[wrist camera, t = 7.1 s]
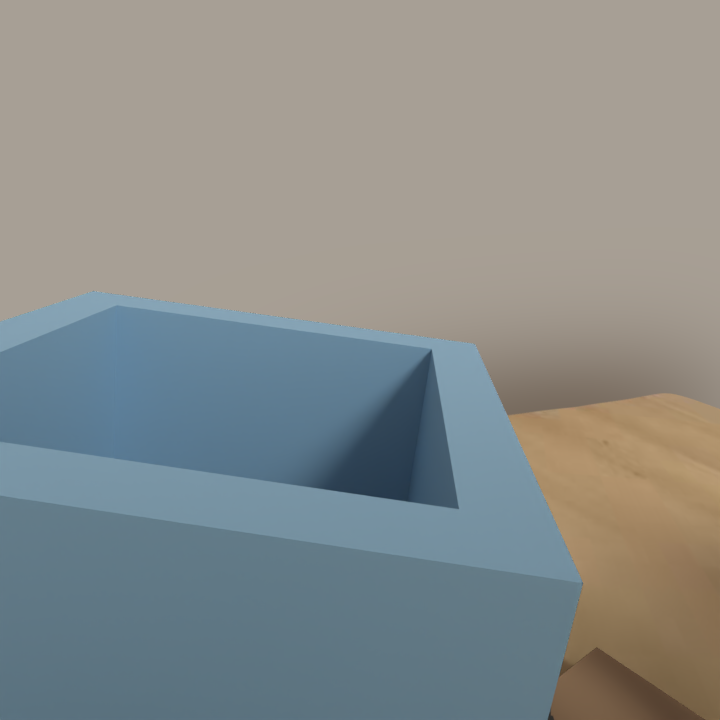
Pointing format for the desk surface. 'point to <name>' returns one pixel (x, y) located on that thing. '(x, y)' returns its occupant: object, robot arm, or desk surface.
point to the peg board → (611, 694)
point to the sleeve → (266, 524)
